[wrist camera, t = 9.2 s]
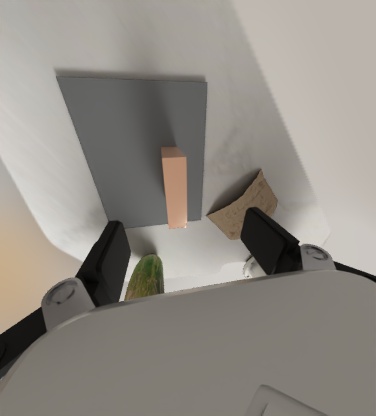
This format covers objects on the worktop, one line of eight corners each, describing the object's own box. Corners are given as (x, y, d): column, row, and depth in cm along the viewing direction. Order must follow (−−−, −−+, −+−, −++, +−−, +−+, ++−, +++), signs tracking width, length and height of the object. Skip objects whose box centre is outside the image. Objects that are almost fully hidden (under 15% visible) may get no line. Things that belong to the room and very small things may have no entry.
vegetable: (131, 263, 30) (95, 442, 13) (135, 242, 27) (97, 432, 10) (159, 265, 32) (160, 424, 15) (166, 245, 29) (175, 411, 12)
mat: (200, 218, 27) (200, 220, 27) (113, 228, 25) (112, 230, 24) (205, 83, 17) (207, 82, 17) (59, 78, 15) (56, 76, 14)
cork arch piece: (260, 164, 24) (271, 168, 22) (281, 199, 29) (291, 205, 27) (200, 217, 28) (203, 225, 26) (227, 240, 33) (232, 249, 30)
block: (179, 197, 23) (187, 226, 17) (166, 199, 23) (168, 229, 16) (176, 146, 19) (186, 157, 13) (160, 146, 19) (161, 158, 12)
